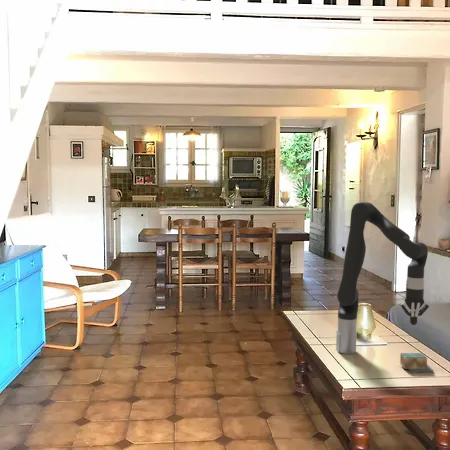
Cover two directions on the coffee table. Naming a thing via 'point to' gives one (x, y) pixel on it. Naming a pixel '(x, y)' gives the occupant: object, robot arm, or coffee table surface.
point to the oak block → (413, 361)
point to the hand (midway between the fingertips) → (413, 324)
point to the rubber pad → (422, 370)
